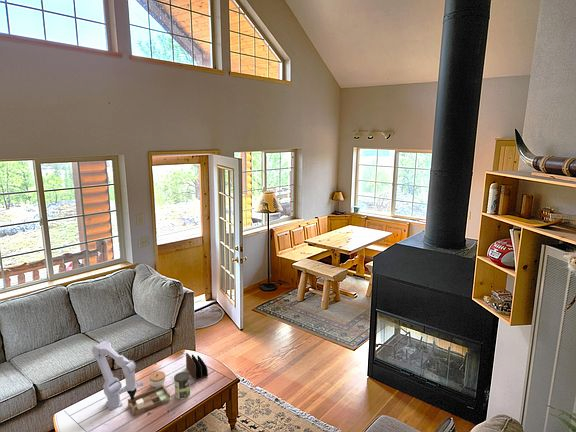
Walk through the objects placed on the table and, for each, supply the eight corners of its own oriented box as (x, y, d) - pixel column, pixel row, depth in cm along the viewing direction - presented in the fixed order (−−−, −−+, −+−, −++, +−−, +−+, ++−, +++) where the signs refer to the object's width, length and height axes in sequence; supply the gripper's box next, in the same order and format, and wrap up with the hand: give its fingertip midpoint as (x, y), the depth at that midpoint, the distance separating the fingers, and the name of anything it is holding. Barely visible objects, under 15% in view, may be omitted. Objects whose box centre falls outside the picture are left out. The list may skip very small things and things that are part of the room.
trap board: (128, 405, 256) (127, 399, 255) (163, 391, 271) (163, 385, 270) (134, 415, 247) (133, 409, 246) (170, 400, 262) (169, 394, 261)
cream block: (136, 406, 252) (135, 400, 251) (142, 403, 255) (141, 398, 254) (138, 409, 249) (137, 404, 248) (144, 406, 252) (143, 401, 251)
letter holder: (195, 381, 281) (194, 364, 278) (186, 367, 298) (185, 351, 295) (208, 377, 287) (207, 360, 284) (198, 363, 303) (197, 347, 300)
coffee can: (192, 390, 272) (192, 372, 268) (186, 400, 262) (185, 382, 259) (179, 388, 274) (178, 370, 270) (172, 398, 264) (171, 380, 261)
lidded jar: (163, 390, 272) (162, 378, 270) (147, 390, 272) (146, 378, 270) (167, 380, 282) (166, 369, 280) (152, 380, 282) (152, 369, 280)
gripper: (120, 388, 237) (122, 407, 240) (144, 379, 246) (145, 397, 249) (117, 382, 243) (118, 401, 245) (140, 373, 251) (142, 391, 254)
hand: (132, 399), depth 248 cm, fingers closed
